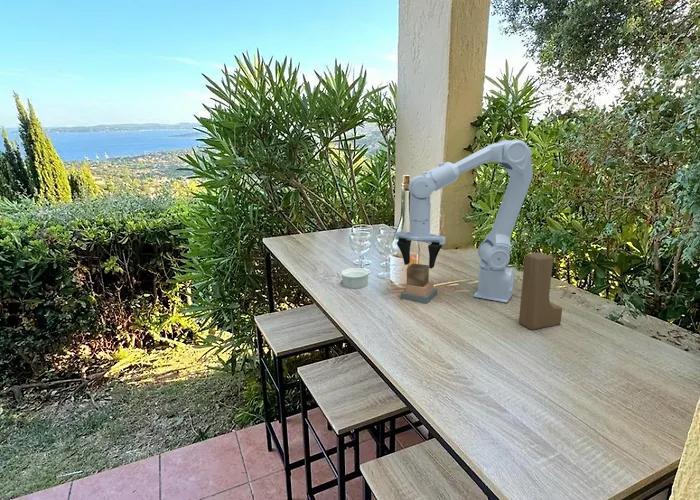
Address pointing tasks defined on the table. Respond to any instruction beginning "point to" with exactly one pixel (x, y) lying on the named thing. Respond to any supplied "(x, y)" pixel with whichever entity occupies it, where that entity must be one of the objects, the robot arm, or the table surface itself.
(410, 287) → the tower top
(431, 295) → the tower base
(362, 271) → the ramekin
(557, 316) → the wooden block
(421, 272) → the walnut cube
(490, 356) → the table surface
